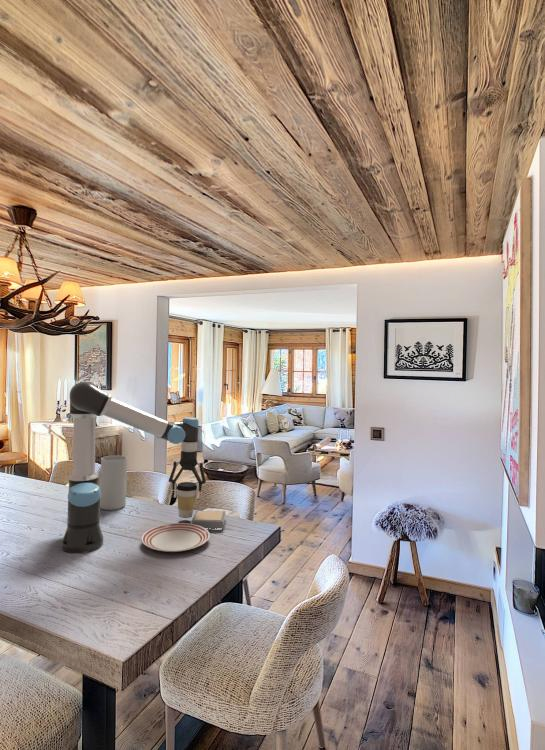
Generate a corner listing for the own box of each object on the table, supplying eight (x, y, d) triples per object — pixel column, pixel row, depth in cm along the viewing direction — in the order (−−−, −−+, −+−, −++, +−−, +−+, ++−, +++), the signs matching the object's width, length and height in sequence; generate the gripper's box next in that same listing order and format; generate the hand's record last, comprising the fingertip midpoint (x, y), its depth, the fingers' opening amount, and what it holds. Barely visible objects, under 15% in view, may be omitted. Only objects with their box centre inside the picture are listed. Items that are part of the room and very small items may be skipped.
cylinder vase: (109, 512, 204) (111, 461, 204) (94, 507, 211) (95, 458, 211) (130, 505, 215) (132, 457, 215) (114, 501, 221) (116, 454, 221)
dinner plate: (211, 555, 161) (212, 546, 161) (138, 559, 155) (138, 550, 155) (207, 529, 187) (207, 521, 187) (144, 531, 182) (144, 524, 182)
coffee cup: (197, 512, 201) (199, 482, 201) (194, 519, 191) (196, 487, 191) (177, 512, 201) (178, 481, 201) (172, 519, 191) (174, 486, 191)
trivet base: (222, 530, 186) (223, 521, 186) (191, 529, 185) (191, 520, 185) (225, 519, 200) (225, 510, 200) (196, 518, 199) (196, 510, 199)
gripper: (213, 450, 200) (211, 496, 200) (167, 447, 199) (164, 494, 199) (211, 452, 193) (209, 500, 192) (163, 450, 192) (160, 498, 192)
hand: (186, 497), depth 196 cm, fingers closed on coffee cup, 10 cm apart
